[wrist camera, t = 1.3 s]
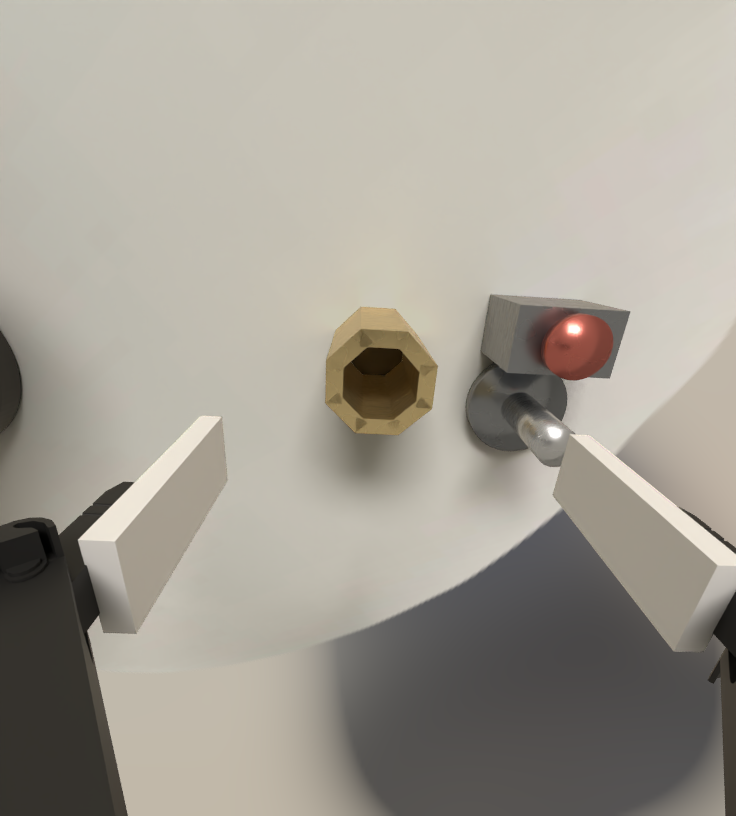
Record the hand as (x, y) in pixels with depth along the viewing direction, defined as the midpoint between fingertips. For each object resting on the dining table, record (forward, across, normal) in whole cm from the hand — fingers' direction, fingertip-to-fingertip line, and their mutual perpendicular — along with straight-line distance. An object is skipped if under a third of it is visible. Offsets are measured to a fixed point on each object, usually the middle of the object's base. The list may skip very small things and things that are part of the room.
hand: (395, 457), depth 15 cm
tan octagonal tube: (+18, 0, 0) cm, 18 cm away
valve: (+18, +12, -2) cm, 21 cm away
